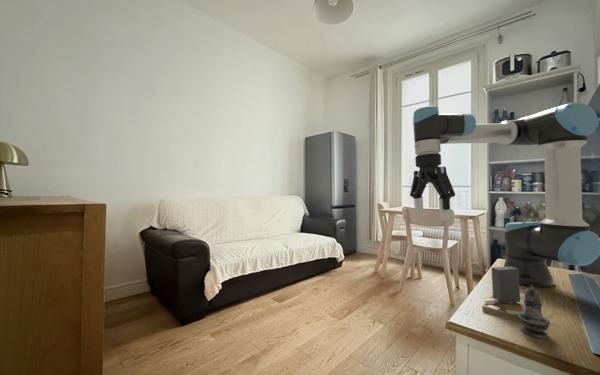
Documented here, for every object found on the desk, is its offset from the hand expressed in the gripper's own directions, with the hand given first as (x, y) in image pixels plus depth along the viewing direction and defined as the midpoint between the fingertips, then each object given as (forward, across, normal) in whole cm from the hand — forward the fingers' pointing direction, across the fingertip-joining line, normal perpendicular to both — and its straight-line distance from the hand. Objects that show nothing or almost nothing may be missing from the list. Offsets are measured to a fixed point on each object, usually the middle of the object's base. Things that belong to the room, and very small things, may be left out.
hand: (431, 218), depth 81 cm
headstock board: (+28, +6, +21) cm, 35 cm away
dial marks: (+26, +11, +14) cm, 32 cm away
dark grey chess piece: (+28, +20, +13) cm, 36 cm away
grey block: (+26, +6, +17) cm, 32 cm away
